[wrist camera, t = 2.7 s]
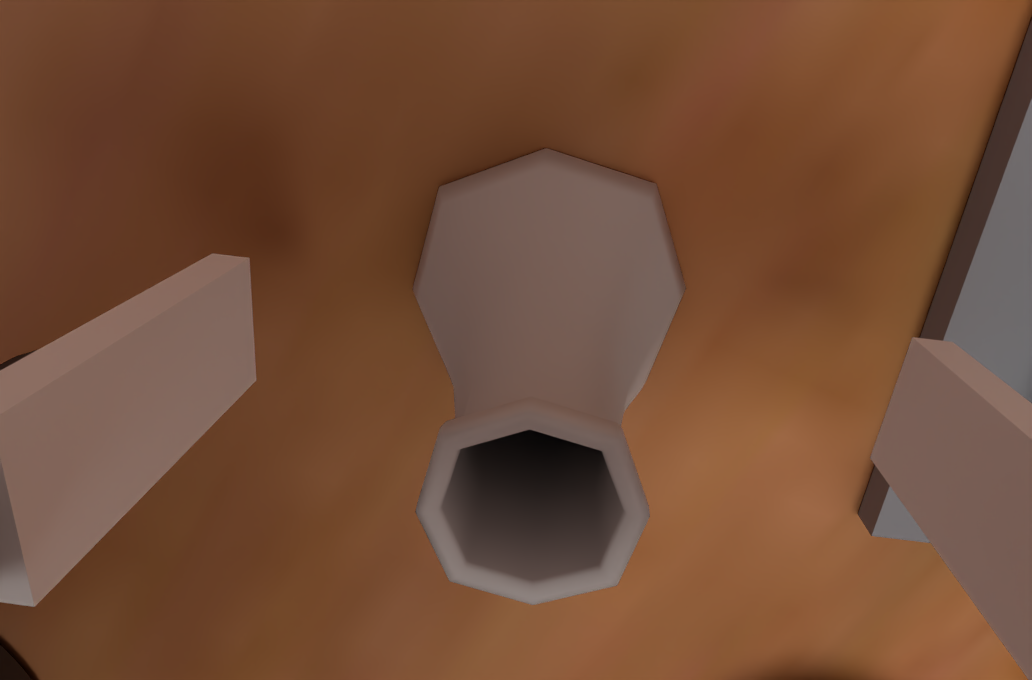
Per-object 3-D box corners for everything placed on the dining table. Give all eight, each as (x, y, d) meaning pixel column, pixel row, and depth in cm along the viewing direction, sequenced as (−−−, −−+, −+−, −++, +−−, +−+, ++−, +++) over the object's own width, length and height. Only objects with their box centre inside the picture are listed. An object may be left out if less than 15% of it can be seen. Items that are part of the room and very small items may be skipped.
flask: (675, 405, 20) (772, 716, 11) (424, 403, 20) (307, 699, 11) (694, 144, 17) (848, 255, 8) (402, 149, 17) (222, 259, 8)
